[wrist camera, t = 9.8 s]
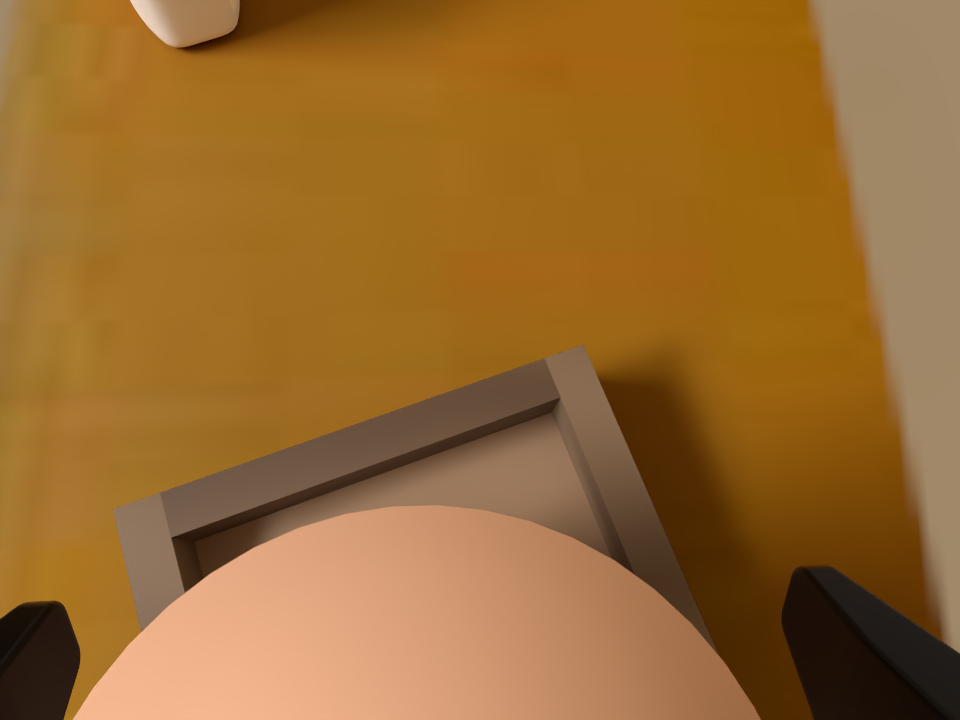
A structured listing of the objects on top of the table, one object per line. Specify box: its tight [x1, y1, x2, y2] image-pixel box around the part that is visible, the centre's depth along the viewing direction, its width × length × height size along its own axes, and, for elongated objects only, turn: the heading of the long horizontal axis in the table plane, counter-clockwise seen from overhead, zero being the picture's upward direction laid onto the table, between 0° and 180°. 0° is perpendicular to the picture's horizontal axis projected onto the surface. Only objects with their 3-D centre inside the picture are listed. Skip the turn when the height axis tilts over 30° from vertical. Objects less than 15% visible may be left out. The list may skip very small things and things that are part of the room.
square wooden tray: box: [113, 345, 720, 657], centre depth 16 cm, size 11×11×3 cm
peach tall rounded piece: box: [73, 505, 761, 720], centre depth 10 cm, size 4×4×13 cm
